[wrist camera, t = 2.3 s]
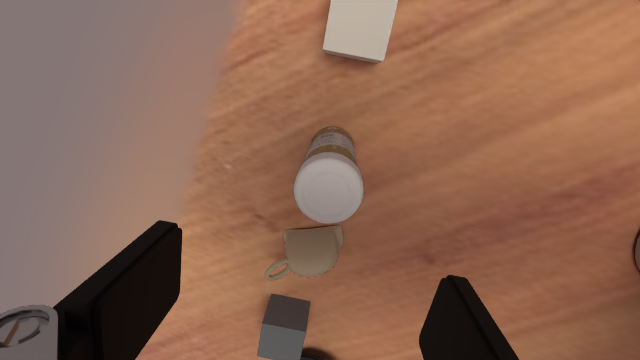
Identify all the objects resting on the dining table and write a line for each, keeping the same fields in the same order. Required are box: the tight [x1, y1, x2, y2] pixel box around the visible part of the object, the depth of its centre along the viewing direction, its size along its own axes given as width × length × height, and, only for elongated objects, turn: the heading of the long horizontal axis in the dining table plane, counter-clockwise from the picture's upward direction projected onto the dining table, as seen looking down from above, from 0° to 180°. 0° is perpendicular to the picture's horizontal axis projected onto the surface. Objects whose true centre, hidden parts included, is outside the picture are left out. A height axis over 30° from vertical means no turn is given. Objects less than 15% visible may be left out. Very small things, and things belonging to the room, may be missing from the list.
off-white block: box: [323, 0, 398, 63], centre depth 26 cm, size 5×5×5 cm
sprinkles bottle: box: [294, 127, 364, 224], centre depth 26 cm, size 5×5×13 cm
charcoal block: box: [257, 294, 310, 360], centre depth 37 cm, size 5×5×5 cm
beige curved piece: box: [265, 225, 343, 280], centre depth 33 cm, size 4×8×5 cm, turn 96°
